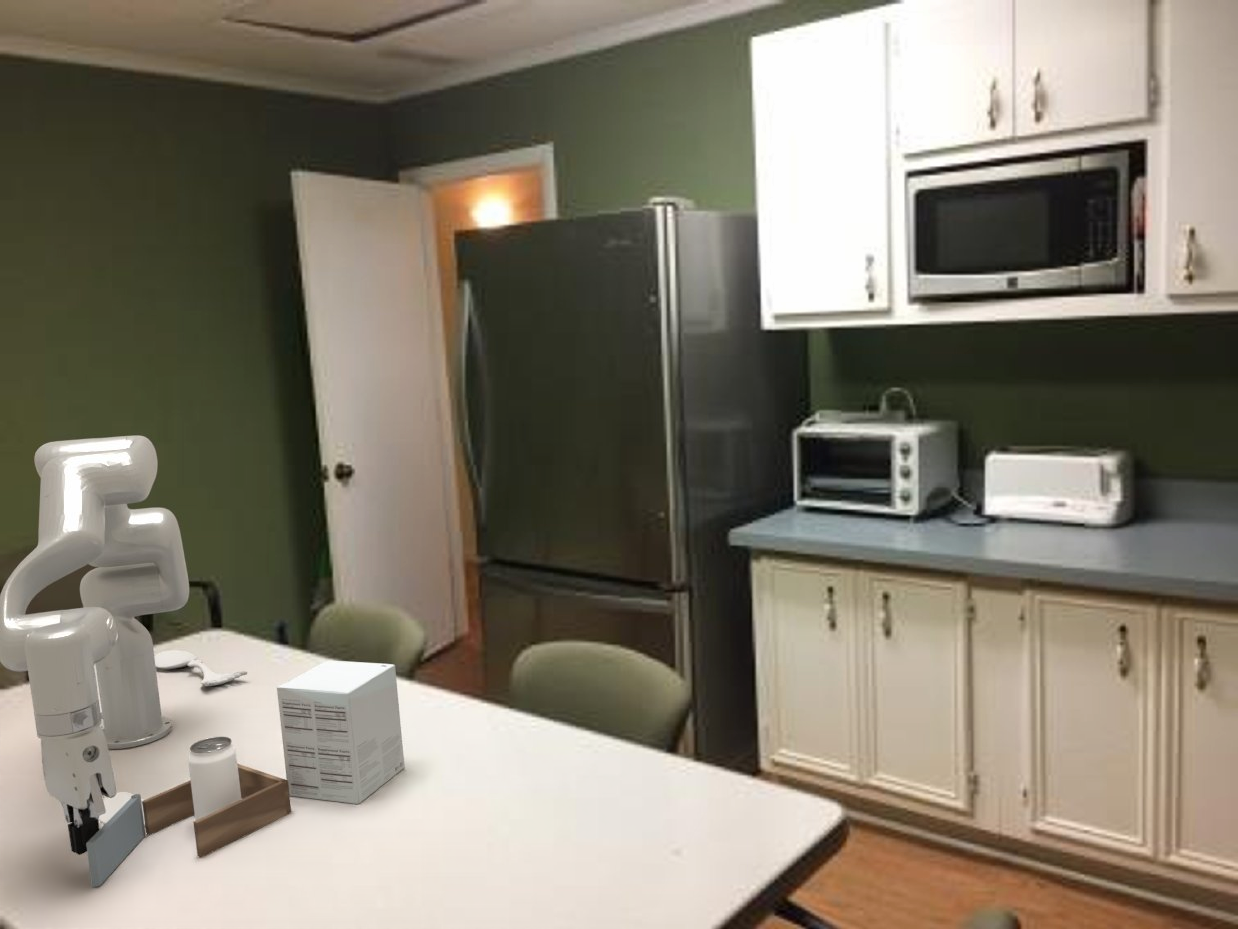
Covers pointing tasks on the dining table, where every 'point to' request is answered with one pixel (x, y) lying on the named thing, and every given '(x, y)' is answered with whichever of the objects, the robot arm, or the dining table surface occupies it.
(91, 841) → the bin gate
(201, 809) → the can
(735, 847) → the dining table surface
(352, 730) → the supplement box
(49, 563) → the robot arm
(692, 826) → the dining table surface
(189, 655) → the spoon
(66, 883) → the dining table surface
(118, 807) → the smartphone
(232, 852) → the dining table surface
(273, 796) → the bin
